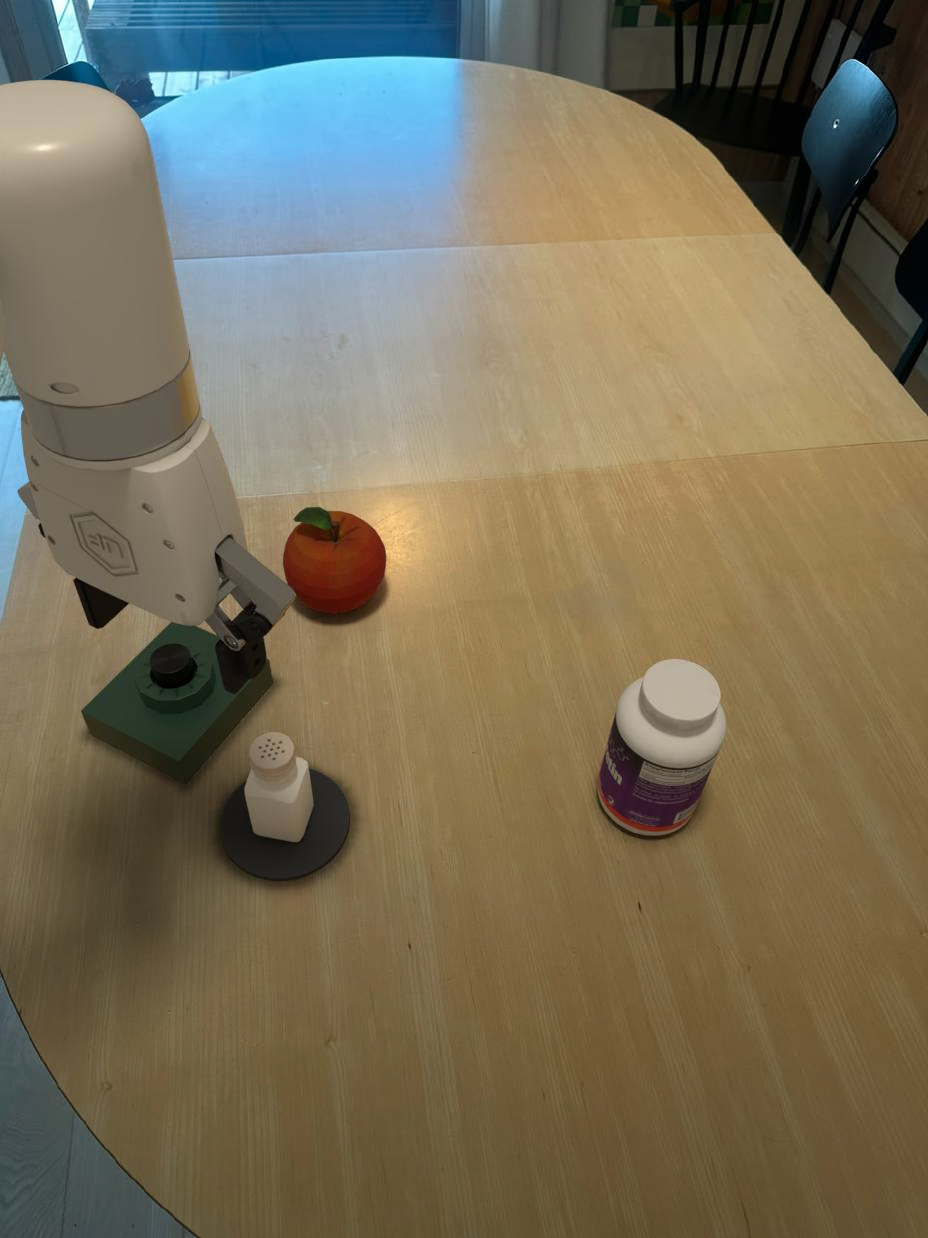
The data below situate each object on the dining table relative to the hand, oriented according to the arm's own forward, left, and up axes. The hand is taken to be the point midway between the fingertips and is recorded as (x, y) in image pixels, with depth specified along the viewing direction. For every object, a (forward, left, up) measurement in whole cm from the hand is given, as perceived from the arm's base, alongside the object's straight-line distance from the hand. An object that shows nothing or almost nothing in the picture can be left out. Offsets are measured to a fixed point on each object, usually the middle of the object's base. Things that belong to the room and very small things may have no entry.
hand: (177, 643), depth 56 cm
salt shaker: (+4, -2, -24) cm, 24 cm away
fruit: (+27, +8, -24) cm, 37 cm away
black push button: (+9, +12, -20) cm, 25 cm away
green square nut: (+9, +12, -24) cm, 28 cm away
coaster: (+4, -2, -24) cm, 25 cm away
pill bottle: (+20, -26, -24) cm, 41 cm away
